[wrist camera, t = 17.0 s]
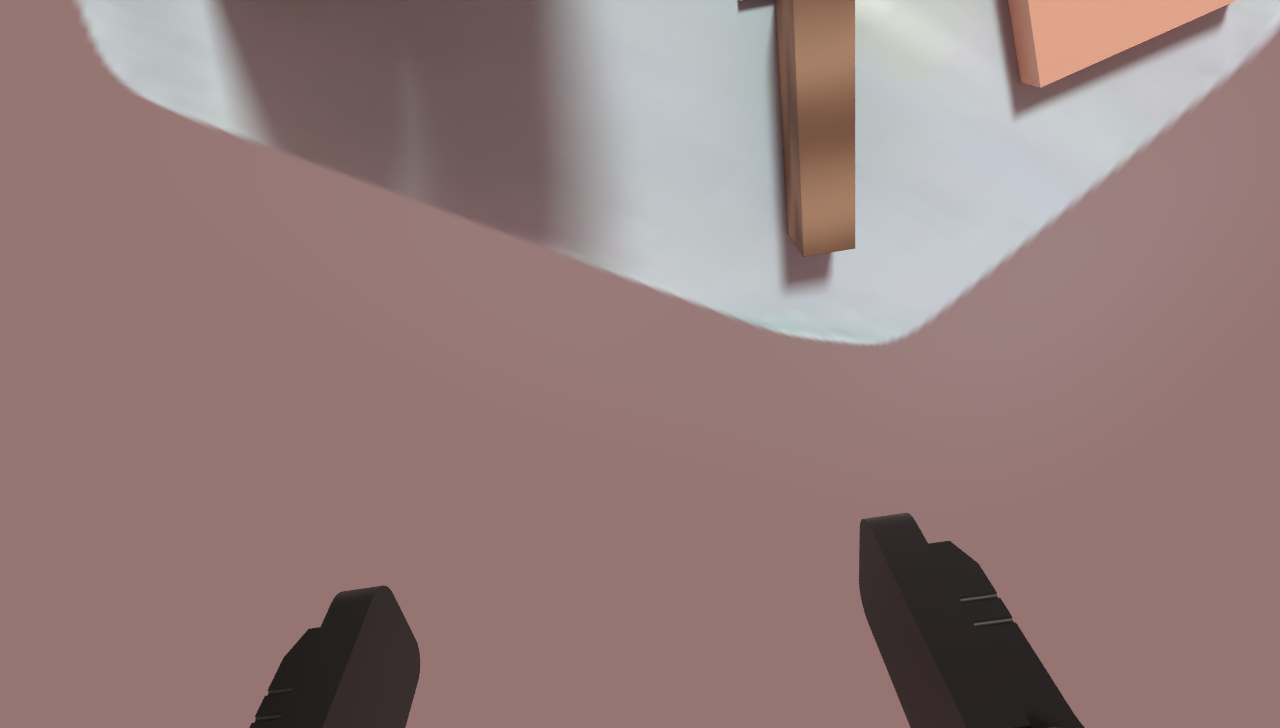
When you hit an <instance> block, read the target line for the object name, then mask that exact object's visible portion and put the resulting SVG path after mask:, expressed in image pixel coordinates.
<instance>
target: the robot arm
mask: <svg viewBox="0 0 1280 728" xmlns="http://www.w3.org/2000/svg"><path fill="white" fill-rule="evenodd" d="M859 559H860V560H859V587H860V594H861V600H862V604H863V608H864V612H865V615H866V618H867V621H868V623H869V626H870V628H871V630H872V633H873V636H874V638H875V641H876V643H877V645H878V648H879V651H880V653H881V656H882V658H883V660H884V663H885V665H886V668H887V670H888V673H889V675H890V678H891V680H892V683H893V685H894V688H895V690H896V692H897V695H898V697H899V700H900V703H901V705H902V707H903V710H904V712H905V715H906V717H907V720H908V722H909V725H910V727H911V728H1084V726H1083V725H1082V724H1081V723H1080V722H1079V720H1078V719H1077V717H1076V716H1075V715H1074V713H1073V712H1072V710H1071V708H1070V707H1069V705H1068V704H1067V702H1066V701H1065V699H1064V697H1063V696H1062V694H1061V693H1060V691H1059V690H1058V688H1057V686H1056V685H1055V683H1054V682H1053V680H1052V679H1051V677H1050V675H1049V674H1048V672H1047V671H1046V669H1045V668H1044V666H1043V664H1042V663H1041V661H1040V660H1039V658H1038V657H1037V655H1036V654H1035V652H1034V650H1033V649H1032V648H1031V646H1030V644H1029V642H1028V641H1027V639H1026V638H1025V636H1024V635H1023V633H1022V632H1021V630H1020V628H1019V627H1018V625H1017V624H1016V623H1014V622H1013V620H1012V616H1011V614H1010V613H1009V611H1008V609H1007V608H1006V606H1005V605H1004V603H1003V602H1002V600H1001V599H1000V598H998V597H997V592H996V591H995V589H994V588H993V586H992V585H991V583H990V581H989V580H988V578H987V576H986V575H985V573H984V572H983V570H982V569H981V567H980V565H979V564H978V563H977V562H976V561H974V560H973V559H972V558H971V557H969V556H968V555H967V554H966V553H964V552H963V551H962V550H961V549H959V548H958V547H957V546H956V545H954V544H953V543H952V542H950V541H945V542H937V543H930V544H928V543H927V541H926V539H925V537H924V536H923V534H922V532H921V530H920V529H919V527H918V525H917V523H916V522H915V520H914V519H913V517H912V516H911V515H910V514H909V513H903V514H895V515H888V516H881V517H874V518H867V519H862V520H861V523H860V552H859ZM419 673H420V654H419V648H418V644H417V642H416V639H415V638H414V635H413V633H412V631H411V629H410V627H409V625H408V623H407V621H406V619H405V617H404V615H403V613H402V611H401V609H400V607H399V605H398V603H397V601H396V599H395V597H394V595H393V593H392V591H391V590H390V589H389V588H388V587H387V586H378V587H371V588H364V589H358V590H351V591H343V592H340V593H338V594H337V595H336V596H335V598H334V599H333V601H332V603H331V605H330V607H329V610H328V612H327V614H326V616H325V618H324V621H323V623H322V625H321V627H319V628H312V629H308V630H307V632H306V633H305V634H304V635H303V636H302V637H301V638H300V640H299V641H298V642H297V643H296V644H295V645H294V646H293V648H292V649H291V650H290V651H289V652H288V653H287V655H286V656H285V657H284V658H283V660H282V662H281V664H280V666H279V668H278V670H277V673H276V674H275V676H274V679H273V681H272V683H271V685H270V687H269V689H268V691H269V693H268V696H265V697H264V699H263V701H262V703H261V706H260V707H259V709H258V711H257V713H256V715H255V717H256V721H255V723H252V724H251V726H250V728H405V726H406V723H407V719H408V715H409V712H410V708H411V704H412V701H413V697H414V694H415V690H416V687H417V683H418V679H419Z"/></svg>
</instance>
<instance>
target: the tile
mask: <svg viewBox="0 0 1280 728" xmlns="http://www.w3.org/2000/svg"><path fill="white" fill-rule="evenodd" d="M1234 1H1236V0H1008V5H1009V11H1010V18H1011V24H1012V30H1013V37H1014V43H1015V49H1016V56H1017V62H1018V68H1019V75H1020V81H1021V83H1023V84H1027V85H1031V86H1036V87H1040V88H1041V87H1043V86H1046V85H1048V84H1050V83H1052V82H1055V81H1057V80H1059V79H1061V78H1064V77H1066V76H1068V75H1070V74H1073V73H1075V72H1077V71H1079V70H1082V69H1084V68H1086V67H1088V66H1091V65H1093V64H1095V63H1097V62H1099V61H1102V60H1104V59H1106V58H1108V57H1111V56H1113V55H1115V54H1117V53H1120V52H1122V51H1124V50H1126V49H1129V48H1131V47H1133V46H1135V45H1138V44H1140V43H1142V42H1144V41H1147V40H1149V39H1151V38H1153V37H1156V36H1158V35H1160V34H1162V33H1165V32H1167V31H1169V30H1171V29H1174V28H1176V27H1178V26H1180V25H1183V24H1185V23H1187V22H1189V21H1192V20H1194V19H1196V18H1198V17H1200V16H1203V15H1205V14H1207V13H1209V12H1212V11H1214V10H1216V9H1218V8H1221V7H1223V6H1225V5H1227V4H1230V3H1232V2H1234Z"/></svg>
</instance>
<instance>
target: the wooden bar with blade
mask: <svg viewBox="0 0 1280 728" xmlns="http://www.w3.org/2000/svg"><path fill="white" fill-rule="evenodd" d="M740 1H741V0H740ZM775 2H776V21H777V40H778V58H779V77H780V96H781V115H782V133H783V152H784V171H785V189H786V208H787V227H788V235H789V237H790V238H791V240H792V241H793V242H794V244H795V245H796V247H797V248H798V249H799V251H800V252H801V254H802V255H803V256H804V257H806V256H812V255H818V254H824V253H830V252H836V251H842V250H848V249H854V248H855V0H775Z"/></svg>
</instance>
